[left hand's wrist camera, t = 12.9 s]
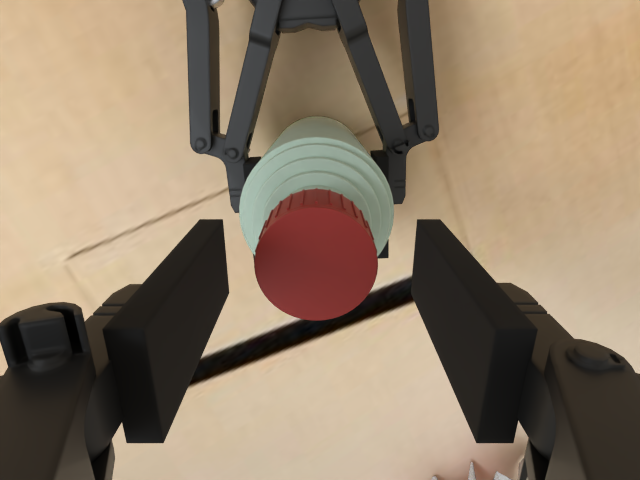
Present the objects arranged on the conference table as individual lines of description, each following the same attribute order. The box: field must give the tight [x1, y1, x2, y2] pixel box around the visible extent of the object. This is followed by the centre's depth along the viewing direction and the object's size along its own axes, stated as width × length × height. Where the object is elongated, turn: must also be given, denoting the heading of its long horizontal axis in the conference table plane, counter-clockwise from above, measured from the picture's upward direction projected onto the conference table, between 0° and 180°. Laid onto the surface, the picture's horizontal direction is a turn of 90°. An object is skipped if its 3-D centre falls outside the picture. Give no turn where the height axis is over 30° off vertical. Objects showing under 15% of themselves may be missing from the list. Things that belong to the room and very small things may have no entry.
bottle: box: [239, 116, 394, 257], centre depth 23 cm, size 7×7×20 cm
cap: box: [254, 188, 378, 320], centre depth 15 cm, size 4×4×3 cm
